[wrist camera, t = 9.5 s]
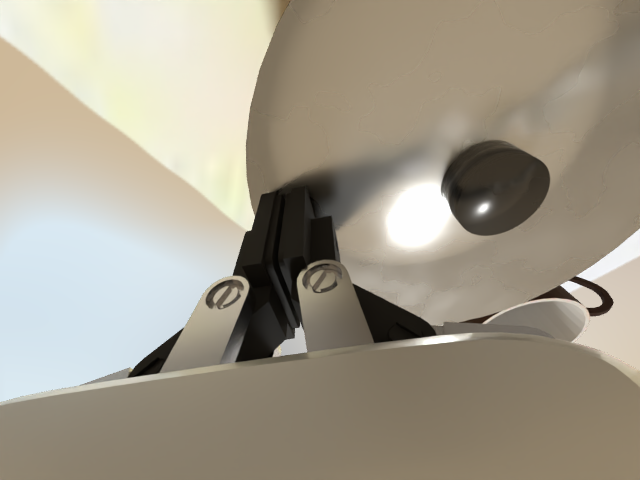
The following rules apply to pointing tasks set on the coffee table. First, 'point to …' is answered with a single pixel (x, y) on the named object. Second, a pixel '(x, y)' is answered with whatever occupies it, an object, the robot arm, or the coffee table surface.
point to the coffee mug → (553, 312)
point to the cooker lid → (455, 141)
